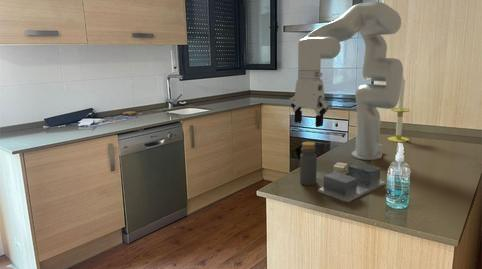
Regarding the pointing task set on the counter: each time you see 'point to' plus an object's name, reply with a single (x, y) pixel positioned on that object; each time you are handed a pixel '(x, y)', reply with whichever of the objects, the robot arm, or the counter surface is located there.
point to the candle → (400, 116)
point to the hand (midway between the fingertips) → (308, 124)
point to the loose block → (340, 168)
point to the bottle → (308, 164)
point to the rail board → (352, 182)
